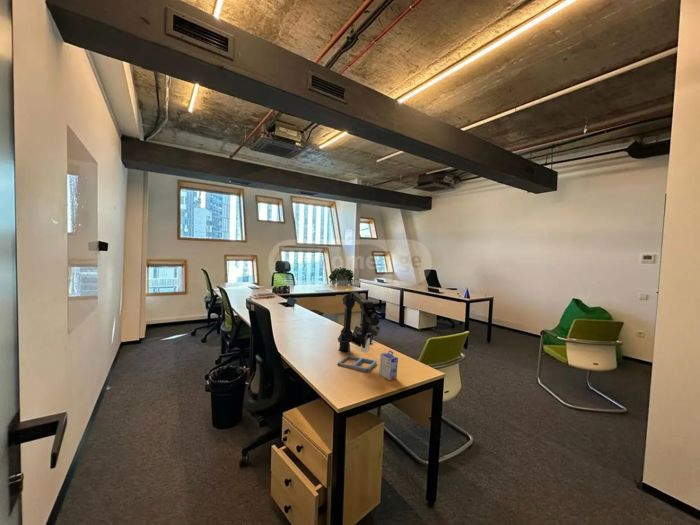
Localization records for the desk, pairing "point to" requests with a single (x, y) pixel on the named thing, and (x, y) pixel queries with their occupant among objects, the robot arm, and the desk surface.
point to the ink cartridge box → (388, 365)
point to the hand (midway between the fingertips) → (365, 346)
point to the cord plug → (366, 346)
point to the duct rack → (355, 365)
